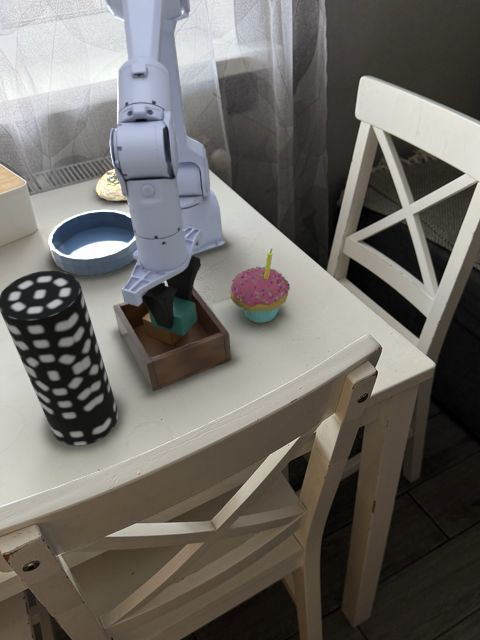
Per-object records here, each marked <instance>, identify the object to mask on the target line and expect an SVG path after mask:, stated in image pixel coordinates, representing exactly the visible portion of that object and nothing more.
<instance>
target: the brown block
mask: <svg viewBox="0 0 480 640" xmlns="http://www.w3.org/2000/svg"><path fill="white" fill-rule="evenodd" d="M142 320H143V324H144V329H145V333H146V334H147V335H149V336H152V337H154V338H156V339H158V340H161V341H163V342H165V343H168V344H170V345H172V346H173V345H174V344H175V343H176V342H177V341H178V340H179V339H180V338H181V337H183V336H182V335H179V334H176V333H173V332H170V331H167V330H164V329H161V328H158V327H155V326H152V325H151V320H150V315H149V313H148V314H147V315H145V316H144V317H143V318H142ZM187 332H188V331H187Z"/></svg>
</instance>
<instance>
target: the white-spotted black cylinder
mask: <svg viewBox="0 0 480 640" xmlns="http://www.w3.org/2000/svg"><path fill="white" fill-rule="evenodd" d="M0 314H1V316H2V319H3V321H4V323H5V325H6V327H7V331H8V332H9V335H10V337H11V339H12V342H13V344H14V346H15V348H16V349H15V350H16V351H17V353H18V356H19V358H20V360H21V363H22V365H23V367H24V370H25V372H26V374H27V377H28V379H29V381H30V384H31V386H32V388H33V390H34V392H35V395H36V397H37V399H38V403H39V405H40V407H41V409H42V412H43V414H44V416H45V418H46V421H47V424H48V425H49V428H50V430H51V432H52V435H54V436H53V437H55V438H56V439H57V440H58V441H60V442H61V443H63V444H66V445H70V446H85V445H90V444H93V443H96V442H97V441H99V440H101V439H103V438H104V437H106V436H107V435H108V434H110V432H111V431H112V430H113V429H114V428H115V427H116V424H117V422H118V419H119V410H118V406H117V402H116V399H115V396H114V392H113V390H112V386H111V382H110V380H109V376H108V373H107V370H106V366H105V363H104V359H103V356H102V353H101V350H100V346H99V343H98V339H97V336H96V333H95V329H94V326H93V323H92V320H91V316H90V313H89V309H88V306H87V302H86V299H85V297H84V293H83V289H82V286H81V283H80V281H79V280H78V278H77V277H76V276H74V274H72V273H69V272H66V271H63V270H41V271H36V272H32V273H29V274H26V275H22V276H21V277H19V278H17V279H15V280H14V281H12V282H11V283H9V284H8V285H7V286H6V287H5V288H4V289H3V290H2V291H1V292H0Z"/></svg>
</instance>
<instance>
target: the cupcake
mask: <svg viewBox="0 0 480 640" xmlns="http://www.w3.org/2000/svg"><path fill="white" fill-rule="evenodd" d="M273 249H274V248H273V247H271V248H270V251H267V254H266V255H267V256H266V261H265V266H264V267H261V266H255V267H250V268H247V269H245V270H242V271H241V272H240V273H238V274H237V275H235V277H234V278H233V279H232V280H231V281H232V282H231V285H230V299H231V301H232V302H233V303H234V304H235V305H236V306H238V307H239V308H241V309H242V311H243V313H244V315H245V317H246V318H247V319H248V320H249V321H251V322H254V323H260V324H263V323H268V322H270V321H272V320H274V319H275V318H276V316H277V314H278V312H279V309H280V307H281V306H282V305H284V304H285V303H286V302H287V299H288V297H289V291H290V288H291V285H290V283H289V281H288V280H287V279H286V276H284V275H283V274H282V273H280V272H279V271H277V270H275V269H274V268H271V266H272V259H273Z"/></svg>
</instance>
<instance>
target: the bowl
mask: <svg viewBox="0 0 480 640" xmlns="http://www.w3.org/2000/svg"><path fill="white" fill-rule="evenodd" d="M47 243H48V247H49V250H50V253H51V256H52V260H53V261H54V263H55V265H56V266H57V267H58V268H59V269H61V271H63V272H66V273H69V274H71V275H79V276H97V275H103V274H109V273H113V272H115V271H118V270H120V269H122V268H124V267H126V266H128V265H130V264H131V263H133V262H134V261H135V260H136V259H134V255H133V253H134V252H135V251H136V250H137V244H136V239H135V235H134V230H133V225H132V221H131V216H130V213H127V212H124V211H119V210H115V209H99V210H98V209H97V210H90V211H85V212H82V213H78V214H75V215H73V216H70V217H68V218H66V219H64V220H62V221H60V223H59V224H57V225H56V226H55V227H54V228H53V229H52V231H51V232H50V233H49V235H48V241H47Z"/></svg>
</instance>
